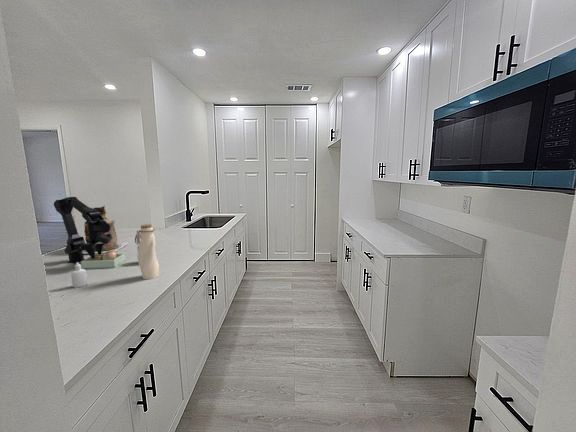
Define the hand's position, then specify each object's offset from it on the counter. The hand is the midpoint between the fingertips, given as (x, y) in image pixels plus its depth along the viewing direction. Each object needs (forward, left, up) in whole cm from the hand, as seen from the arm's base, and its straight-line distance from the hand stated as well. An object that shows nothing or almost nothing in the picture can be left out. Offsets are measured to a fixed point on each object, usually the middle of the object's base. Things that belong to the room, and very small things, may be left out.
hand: (96, 256), depth 161 cm
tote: (+4, 0, -5) cm, 6 cm away
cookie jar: (-14, +34, -5) cm, 37 cm away
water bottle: (+38, -24, -5) cm, 45 cm away
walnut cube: (0, 0, -4) cm, 4 cm away
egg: (+8, 0, -4) cm, 9 cm away
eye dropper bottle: (+9, -32, -5) cm, 34 cm away
